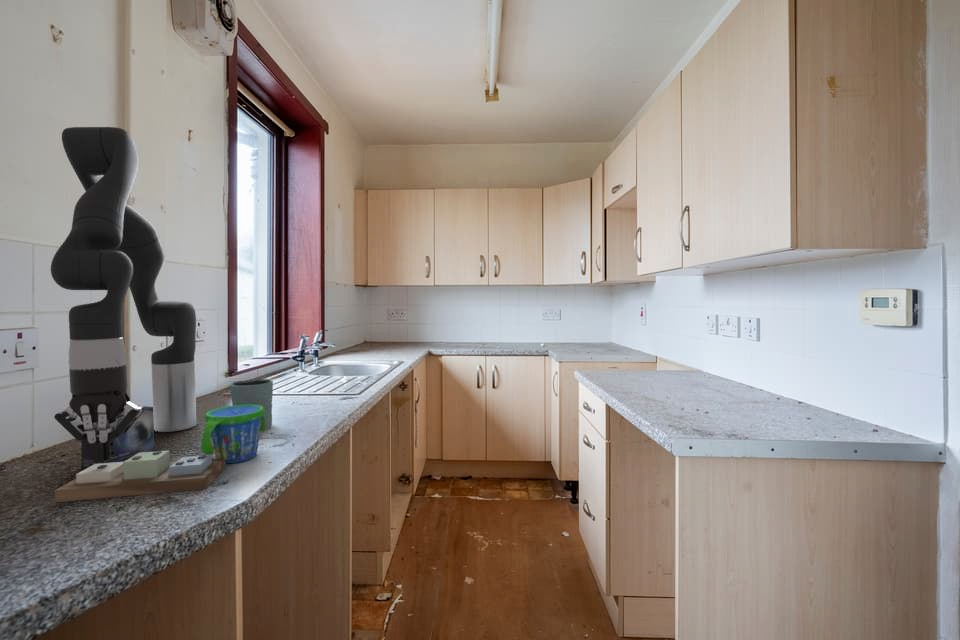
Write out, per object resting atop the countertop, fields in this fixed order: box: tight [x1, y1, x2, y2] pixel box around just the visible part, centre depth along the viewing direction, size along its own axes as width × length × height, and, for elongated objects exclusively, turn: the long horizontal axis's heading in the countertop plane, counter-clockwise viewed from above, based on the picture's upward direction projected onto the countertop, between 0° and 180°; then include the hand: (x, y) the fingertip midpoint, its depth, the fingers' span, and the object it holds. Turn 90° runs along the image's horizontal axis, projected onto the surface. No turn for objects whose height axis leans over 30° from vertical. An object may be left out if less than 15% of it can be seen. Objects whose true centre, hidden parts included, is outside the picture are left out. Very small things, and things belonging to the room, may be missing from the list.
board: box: [54, 458, 226, 503], centre depth 79 cm, size 10×22×2 cm, turn 102°
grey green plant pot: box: [229, 378, 274, 429], centre depth 115 cm, size 10×10×12 cm
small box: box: [80, 405, 155, 469], centre depth 91 cm, size 11×6×10 cm, turn 168°
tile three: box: [169, 454, 213, 476], centre depth 80 cm, size 5×5×4 cm
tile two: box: [123, 450, 171, 480], centre depth 79 cm, size 5×5×4 cm
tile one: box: [75, 462, 124, 484], centre depth 77 cm, size 5×5×4 cm
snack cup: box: [200, 405, 267, 464], centre depth 91 cm, size 16×10×10 cm
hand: (103, 462), depth 77 cm, fingers closed
